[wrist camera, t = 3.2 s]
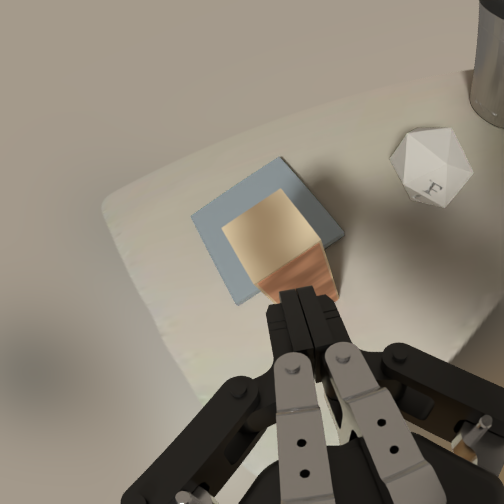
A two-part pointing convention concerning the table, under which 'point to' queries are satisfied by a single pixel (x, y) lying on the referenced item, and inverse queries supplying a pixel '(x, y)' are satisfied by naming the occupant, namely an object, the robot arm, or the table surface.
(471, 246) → the table surface
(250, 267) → the beech block
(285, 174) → the mat
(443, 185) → the die
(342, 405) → the robot arm
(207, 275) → the table surface
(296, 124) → the table surface
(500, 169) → the table surface
